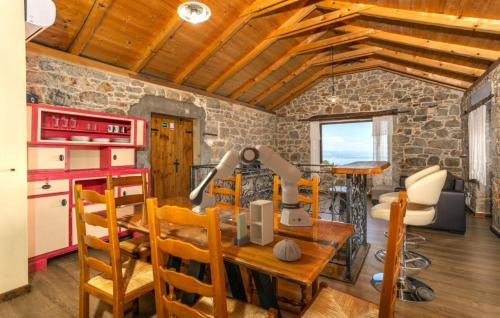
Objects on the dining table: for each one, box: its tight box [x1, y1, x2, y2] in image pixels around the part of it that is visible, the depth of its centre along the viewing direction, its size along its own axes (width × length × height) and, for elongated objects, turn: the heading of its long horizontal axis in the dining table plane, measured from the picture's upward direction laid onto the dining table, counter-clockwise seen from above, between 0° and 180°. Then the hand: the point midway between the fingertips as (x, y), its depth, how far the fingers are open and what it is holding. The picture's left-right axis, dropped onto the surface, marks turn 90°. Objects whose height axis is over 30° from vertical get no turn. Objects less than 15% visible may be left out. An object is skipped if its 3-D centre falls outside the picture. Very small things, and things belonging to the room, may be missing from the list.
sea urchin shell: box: [272, 239, 302, 262], centre depth 119 cm, size 13×14×8 cm
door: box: [236, 212, 248, 245], centre depth 139 cm, size 3×6×16 cm, turn 139°
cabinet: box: [232, 199, 275, 247], centre depth 138 cm, size 14×19×22 cm
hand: (226, 221), depth 146 cm, fingers open, 8 cm apart
